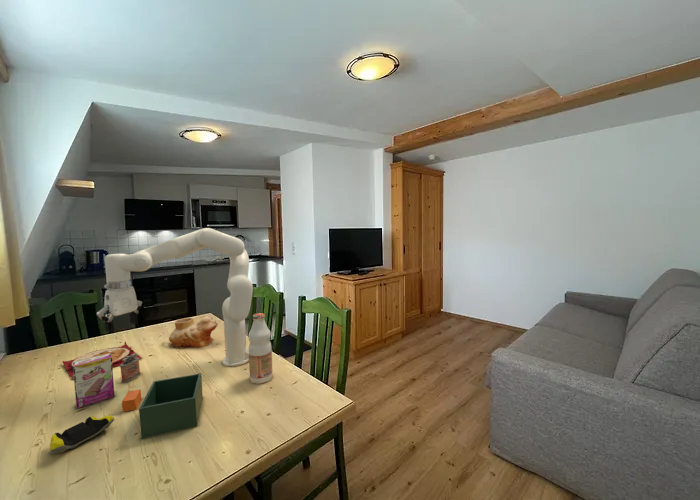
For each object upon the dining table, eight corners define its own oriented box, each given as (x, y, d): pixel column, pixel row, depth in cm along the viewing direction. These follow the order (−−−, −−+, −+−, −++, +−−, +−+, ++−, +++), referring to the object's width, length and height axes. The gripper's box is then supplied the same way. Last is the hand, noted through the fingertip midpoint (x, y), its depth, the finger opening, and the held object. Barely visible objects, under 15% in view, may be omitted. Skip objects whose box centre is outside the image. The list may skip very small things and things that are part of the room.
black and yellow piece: (117, 430, 97) (101, 422, 101) (116, 414, 96) (99, 406, 100) (56, 464, 83) (40, 452, 88) (54, 446, 83) (38, 435, 87)
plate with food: (62, 365, 143) (61, 358, 143) (126, 346, 163) (126, 340, 163) (72, 381, 129) (71, 374, 128) (142, 358, 149) (141, 352, 148)
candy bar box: (76, 409, 108) (72, 366, 106) (76, 404, 111) (71, 361, 110) (115, 397, 116) (112, 356, 114) (113, 391, 119) (110, 352, 118)
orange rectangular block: (141, 399, 114) (140, 389, 114) (135, 409, 108) (135, 399, 107) (129, 401, 113) (128, 391, 112) (122, 412, 106) (121, 401, 106)
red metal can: (125, 383, 126) (123, 360, 125) (119, 382, 126) (117, 359, 125) (142, 373, 134) (140, 352, 133) (136, 373, 134) (134, 351, 133)
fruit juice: (247, 384, 123) (243, 318, 121) (253, 373, 133) (250, 311, 130) (269, 383, 124) (267, 318, 121) (274, 372, 133) (272, 311, 131)
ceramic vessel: (211, 348, 160) (210, 321, 159) (163, 348, 160) (161, 321, 159) (223, 338, 174) (221, 313, 173) (178, 338, 174) (176, 313, 173)
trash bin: (202, 397, 115) (201, 373, 114) (197, 426, 98) (195, 397, 97) (155, 406, 109) (153, 381, 108) (141, 438, 93) (138, 409, 92)
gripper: (103, 290, 108) (107, 336, 110) (146, 281, 125) (149, 321, 126) (87, 289, 110) (91, 334, 112) (132, 280, 127) (135, 319, 128)
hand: (122, 327), depth 119 cm, fingers open, 9 cm apart
